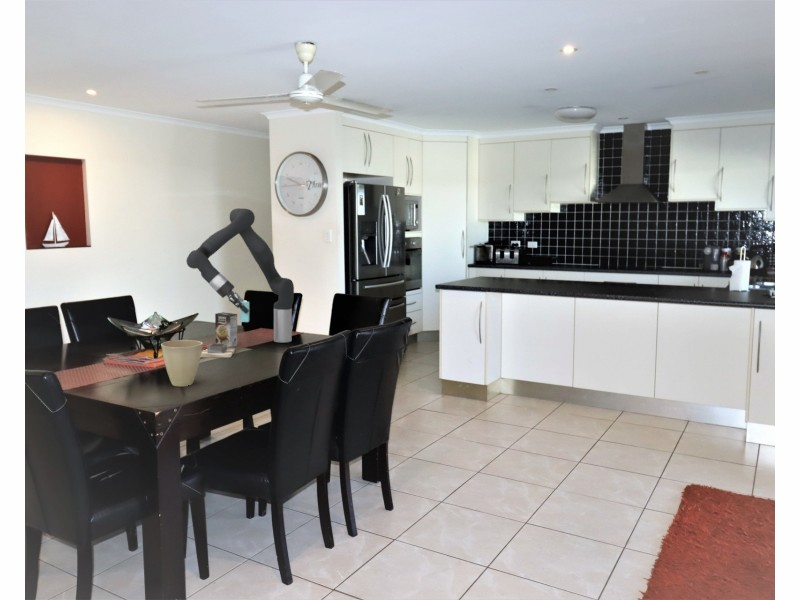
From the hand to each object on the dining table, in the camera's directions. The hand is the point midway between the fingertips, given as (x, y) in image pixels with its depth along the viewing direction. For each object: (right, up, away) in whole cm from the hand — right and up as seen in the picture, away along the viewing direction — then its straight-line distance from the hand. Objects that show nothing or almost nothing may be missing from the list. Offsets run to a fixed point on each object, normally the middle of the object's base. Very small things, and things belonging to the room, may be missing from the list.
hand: (248, 311), depth 290 cm
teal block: (-2, -5, 0) cm, 5 cm away
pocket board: (-15, -20, +1) cm, 25 cm away
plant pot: (-12, -27, -51) cm, 59 cm away
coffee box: (-16, -18, +21) cm, 32 cm away
